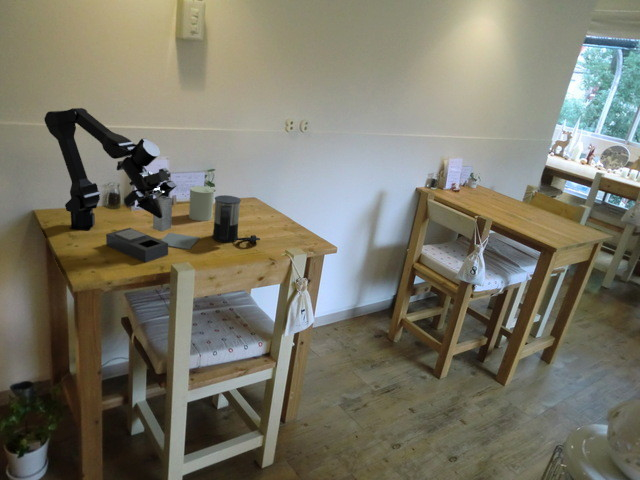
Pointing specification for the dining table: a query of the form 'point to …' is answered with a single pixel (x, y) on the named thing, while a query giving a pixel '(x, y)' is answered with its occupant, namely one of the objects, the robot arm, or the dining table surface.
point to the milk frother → (228, 219)
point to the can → (201, 203)
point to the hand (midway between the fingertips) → (166, 215)
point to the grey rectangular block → (163, 213)
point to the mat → (180, 240)
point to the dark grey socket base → (137, 244)
